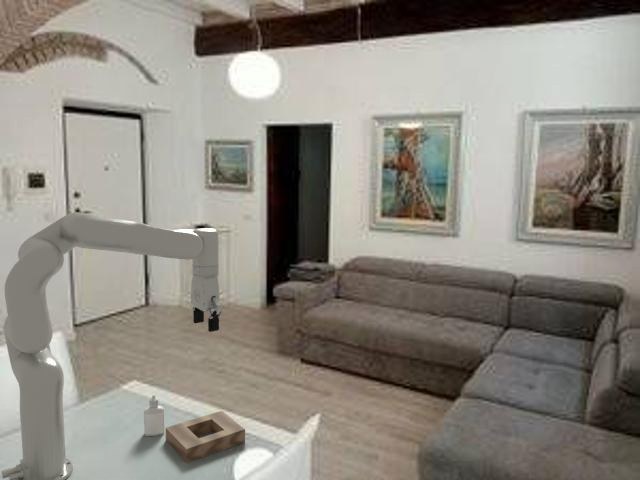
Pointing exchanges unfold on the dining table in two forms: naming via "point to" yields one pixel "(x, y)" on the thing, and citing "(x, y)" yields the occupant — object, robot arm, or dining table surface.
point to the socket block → (194, 447)
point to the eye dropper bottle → (153, 418)
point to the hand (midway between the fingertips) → (206, 326)
